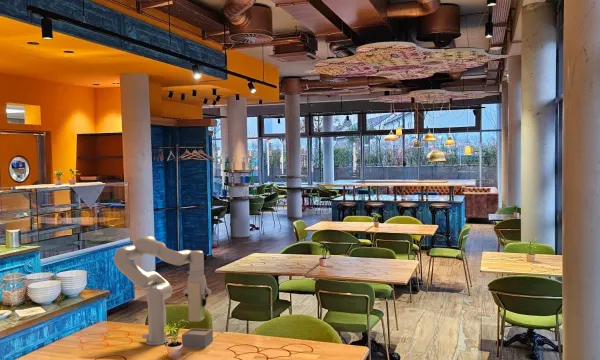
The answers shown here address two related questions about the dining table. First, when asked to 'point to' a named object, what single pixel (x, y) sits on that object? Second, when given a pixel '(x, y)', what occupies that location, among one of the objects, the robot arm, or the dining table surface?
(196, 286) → the toy refrigerator
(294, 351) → the dining table surface
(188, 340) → the grey open box
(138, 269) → the robot arm
